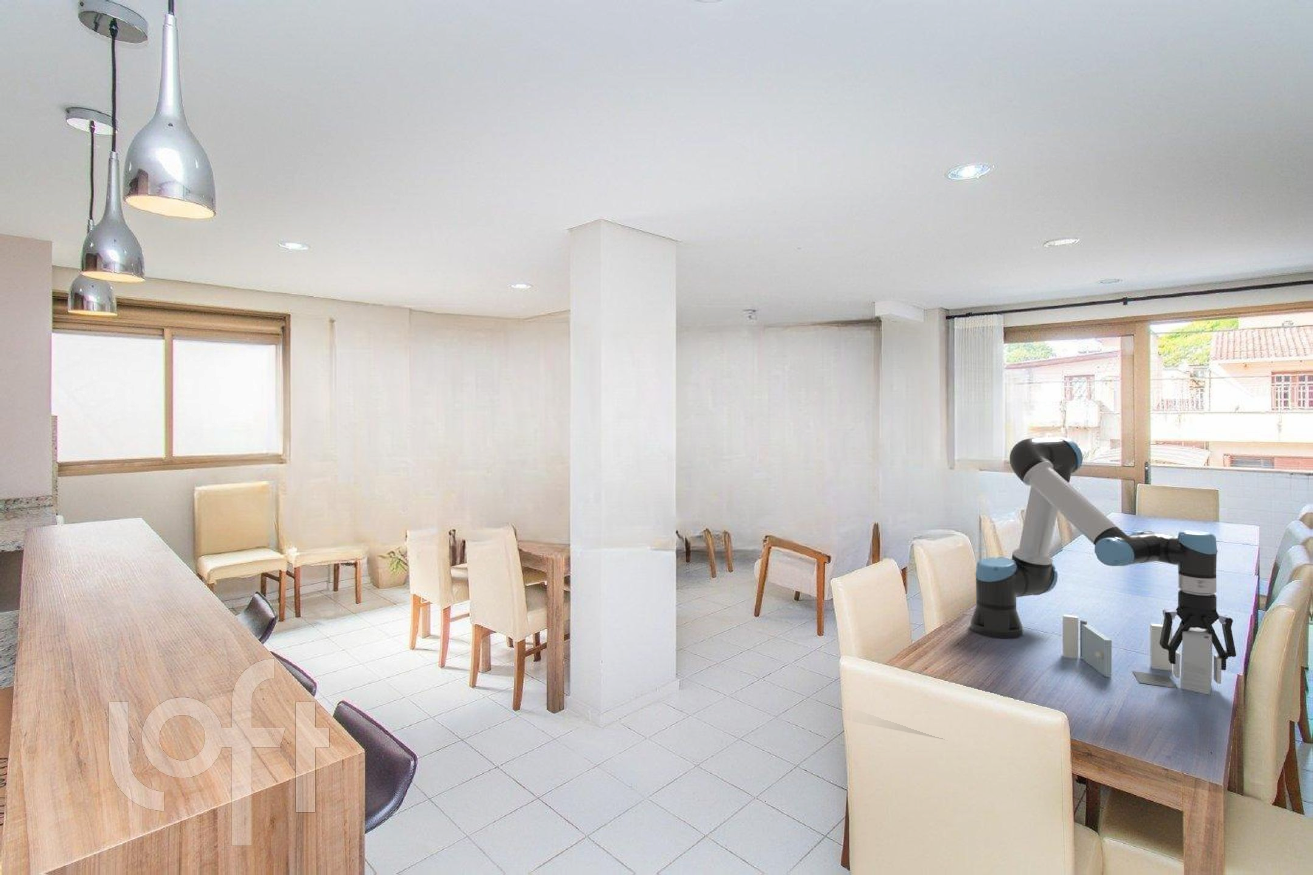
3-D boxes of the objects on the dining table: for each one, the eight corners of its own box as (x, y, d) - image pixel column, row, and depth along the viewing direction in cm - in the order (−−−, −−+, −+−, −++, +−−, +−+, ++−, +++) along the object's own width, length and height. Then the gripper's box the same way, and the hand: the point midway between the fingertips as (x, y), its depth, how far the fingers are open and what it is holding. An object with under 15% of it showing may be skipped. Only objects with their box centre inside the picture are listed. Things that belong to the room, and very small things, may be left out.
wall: (1063, 656, 184) (1063, 616, 183) (1062, 654, 185) (1062, 614, 185) (1172, 670, 172) (1172, 627, 172) (1170, 667, 174) (1170, 625, 173)
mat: (1139, 683, 165) (1139, 682, 165) (1132, 671, 172) (1132, 670, 172) (1177, 688, 161) (1177, 687, 161) (1169, 676, 168) (1169, 675, 168)
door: (1073, 655, 183) (1073, 619, 183) (1085, 656, 183) (1085, 620, 182) (1098, 676, 169) (1098, 637, 169) (1111, 676, 169) (1111, 638, 168)
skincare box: (1182, 678, 167) (1182, 623, 167) (1212, 684, 163) (1213, 628, 162) (1180, 689, 161) (1180, 632, 160) (1211, 695, 157) (1211, 637, 156)
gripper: (1151, 591, 162) (1150, 677, 163) (1255, 599, 153) (1254, 691, 154) (1144, 583, 169) (1144, 667, 170) (1243, 591, 160) (1243, 679, 161)
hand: (1196, 678), depth 162 cm, fingers open, 8 cm apart
